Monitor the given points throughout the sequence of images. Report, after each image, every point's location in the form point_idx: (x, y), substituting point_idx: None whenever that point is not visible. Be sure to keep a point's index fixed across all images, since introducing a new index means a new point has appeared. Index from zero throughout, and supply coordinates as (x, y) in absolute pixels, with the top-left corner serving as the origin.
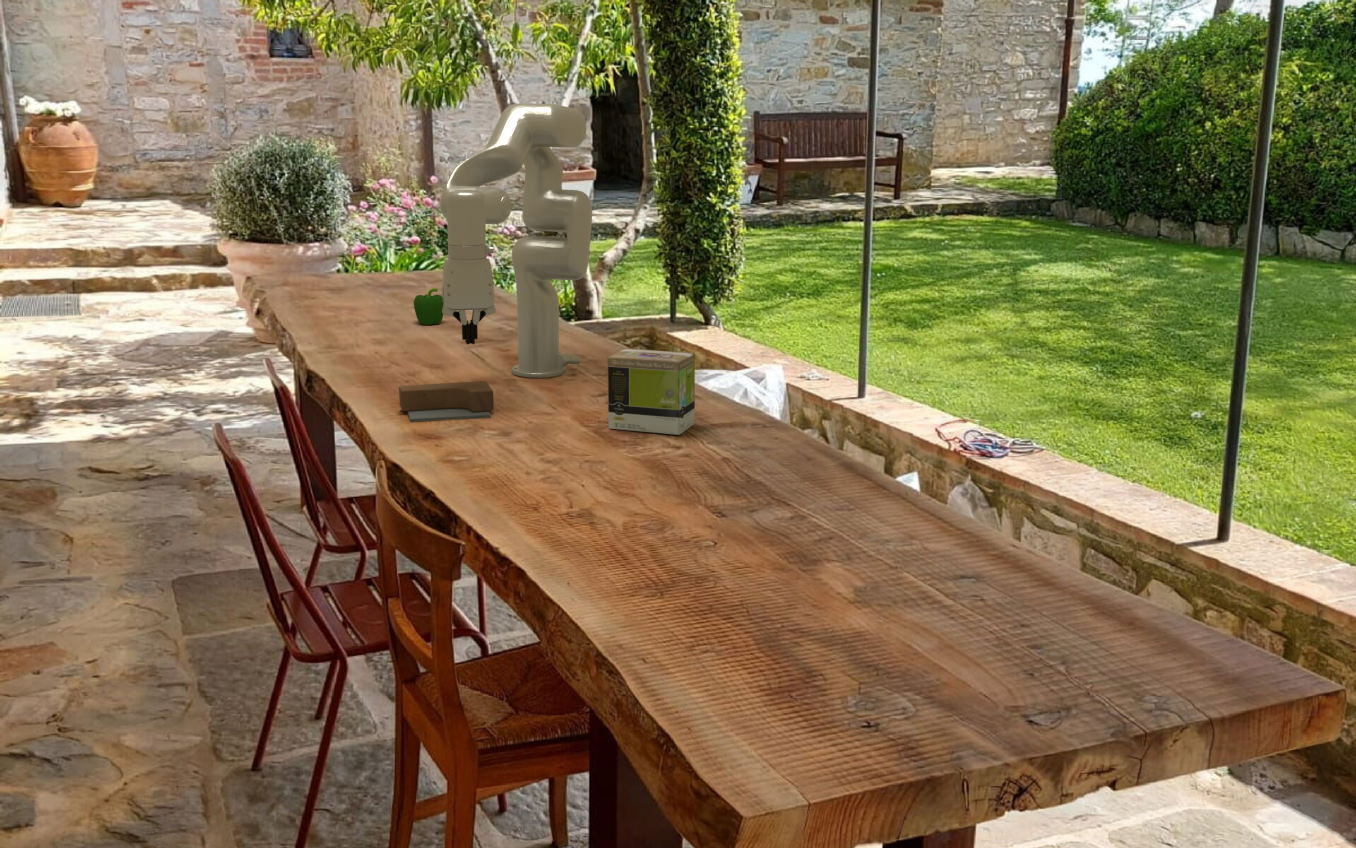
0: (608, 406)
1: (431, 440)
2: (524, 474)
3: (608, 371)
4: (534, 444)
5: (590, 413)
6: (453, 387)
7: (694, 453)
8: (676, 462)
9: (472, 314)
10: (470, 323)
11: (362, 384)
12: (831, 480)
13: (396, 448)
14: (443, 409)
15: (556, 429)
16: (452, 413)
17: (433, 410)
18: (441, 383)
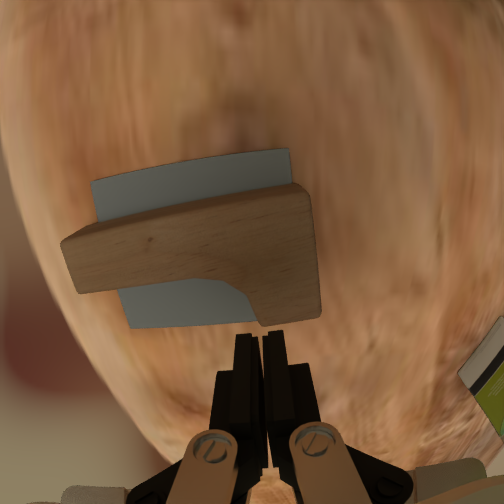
0: (472, 393)
1: (195, 418)
2: None
3: (496, 431)
4: (343, 435)
5: (476, 288)
6: (203, 277)
7: (470, 427)
8: (443, 449)
9: (300, 491)
10: (275, 434)
11: (23, 13)
12: (490, 448)
13: (156, 434)
14: None
15: (396, 380)
16: (212, 299)
17: None
18: (160, 224)
